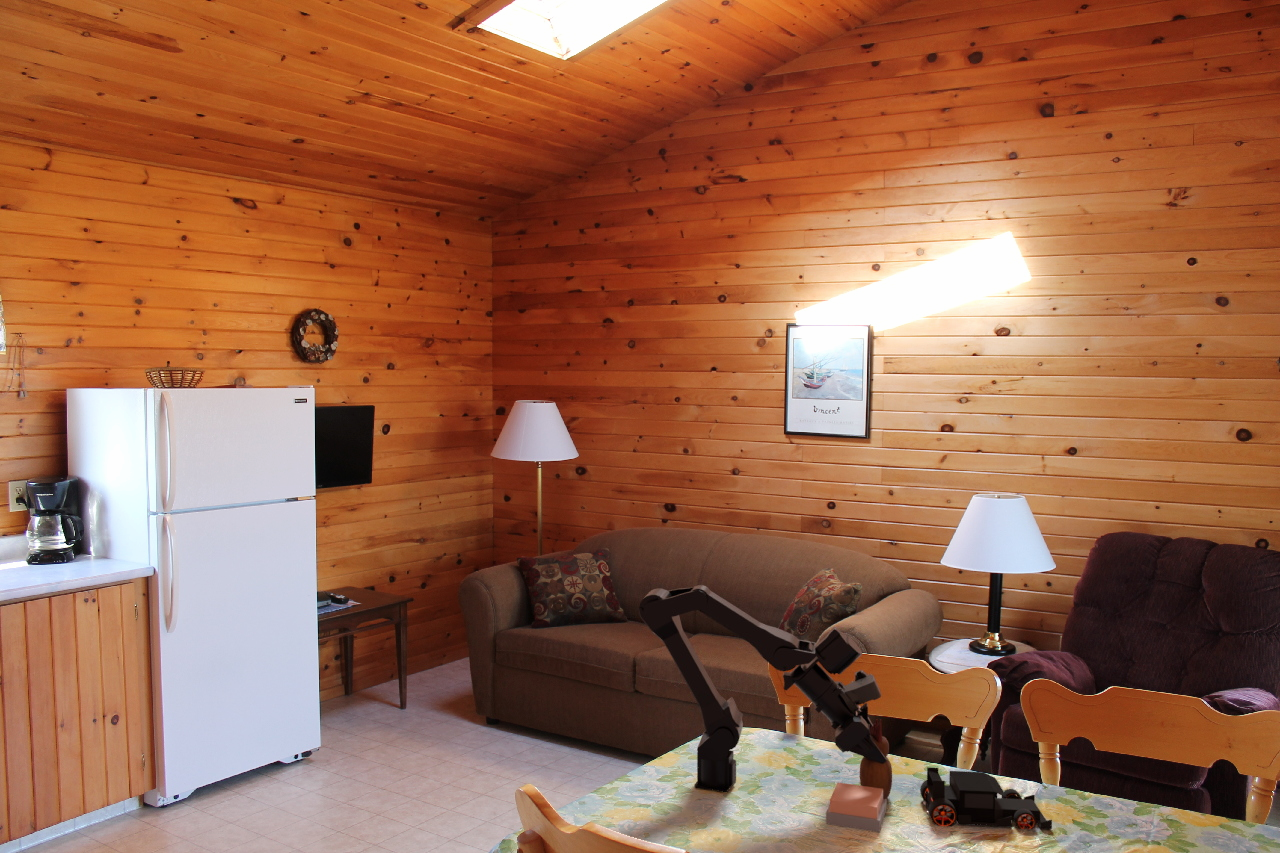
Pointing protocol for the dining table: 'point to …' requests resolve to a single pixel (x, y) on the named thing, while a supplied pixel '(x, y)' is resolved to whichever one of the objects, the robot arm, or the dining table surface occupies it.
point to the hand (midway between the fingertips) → (883, 753)
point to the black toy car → (977, 802)
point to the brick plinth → (856, 820)
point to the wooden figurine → (877, 764)
